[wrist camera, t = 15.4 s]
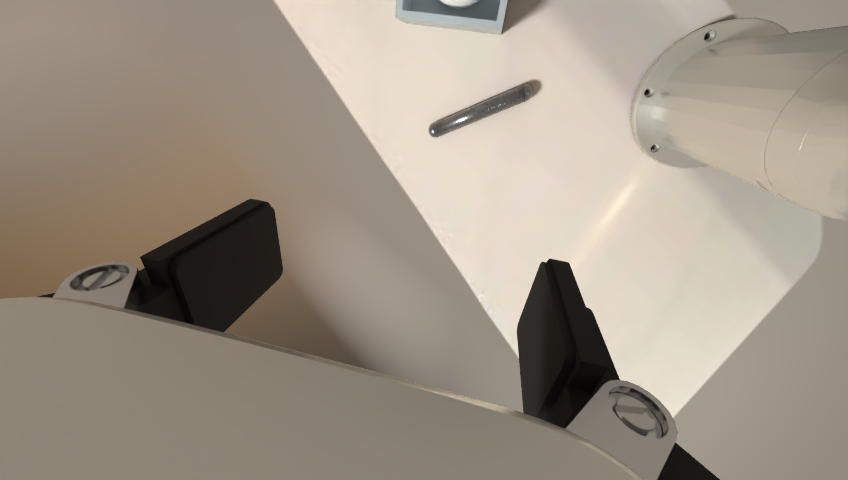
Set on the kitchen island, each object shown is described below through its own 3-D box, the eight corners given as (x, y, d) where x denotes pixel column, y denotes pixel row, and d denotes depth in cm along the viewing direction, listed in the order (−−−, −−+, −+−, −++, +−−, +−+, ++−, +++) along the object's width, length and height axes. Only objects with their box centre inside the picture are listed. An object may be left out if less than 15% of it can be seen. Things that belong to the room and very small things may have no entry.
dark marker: (529, 81, 32) (531, 81, 30) (533, 96, 32) (535, 98, 31) (427, 124, 36) (425, 127, 34) (433, 138, 36) (430, 140, 35)
